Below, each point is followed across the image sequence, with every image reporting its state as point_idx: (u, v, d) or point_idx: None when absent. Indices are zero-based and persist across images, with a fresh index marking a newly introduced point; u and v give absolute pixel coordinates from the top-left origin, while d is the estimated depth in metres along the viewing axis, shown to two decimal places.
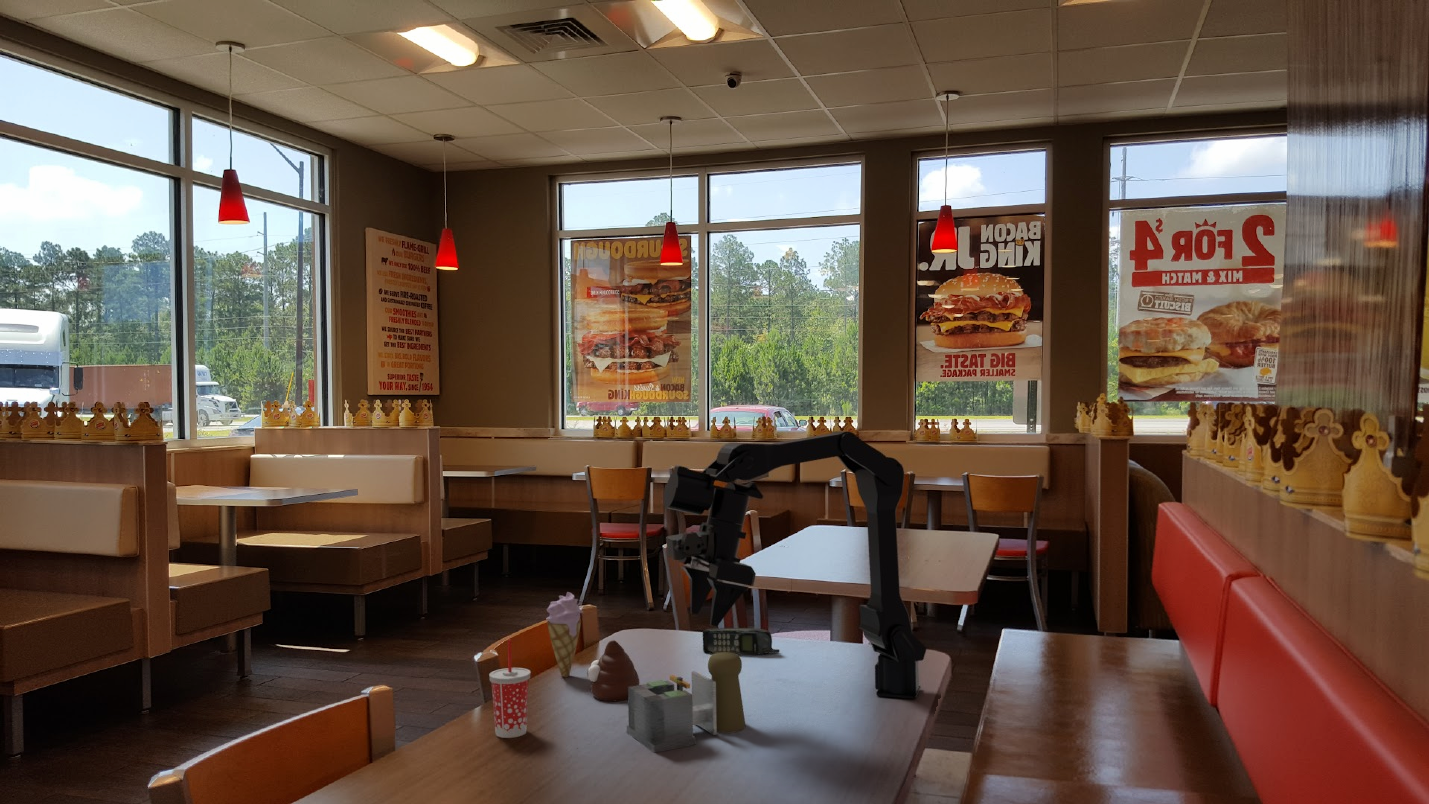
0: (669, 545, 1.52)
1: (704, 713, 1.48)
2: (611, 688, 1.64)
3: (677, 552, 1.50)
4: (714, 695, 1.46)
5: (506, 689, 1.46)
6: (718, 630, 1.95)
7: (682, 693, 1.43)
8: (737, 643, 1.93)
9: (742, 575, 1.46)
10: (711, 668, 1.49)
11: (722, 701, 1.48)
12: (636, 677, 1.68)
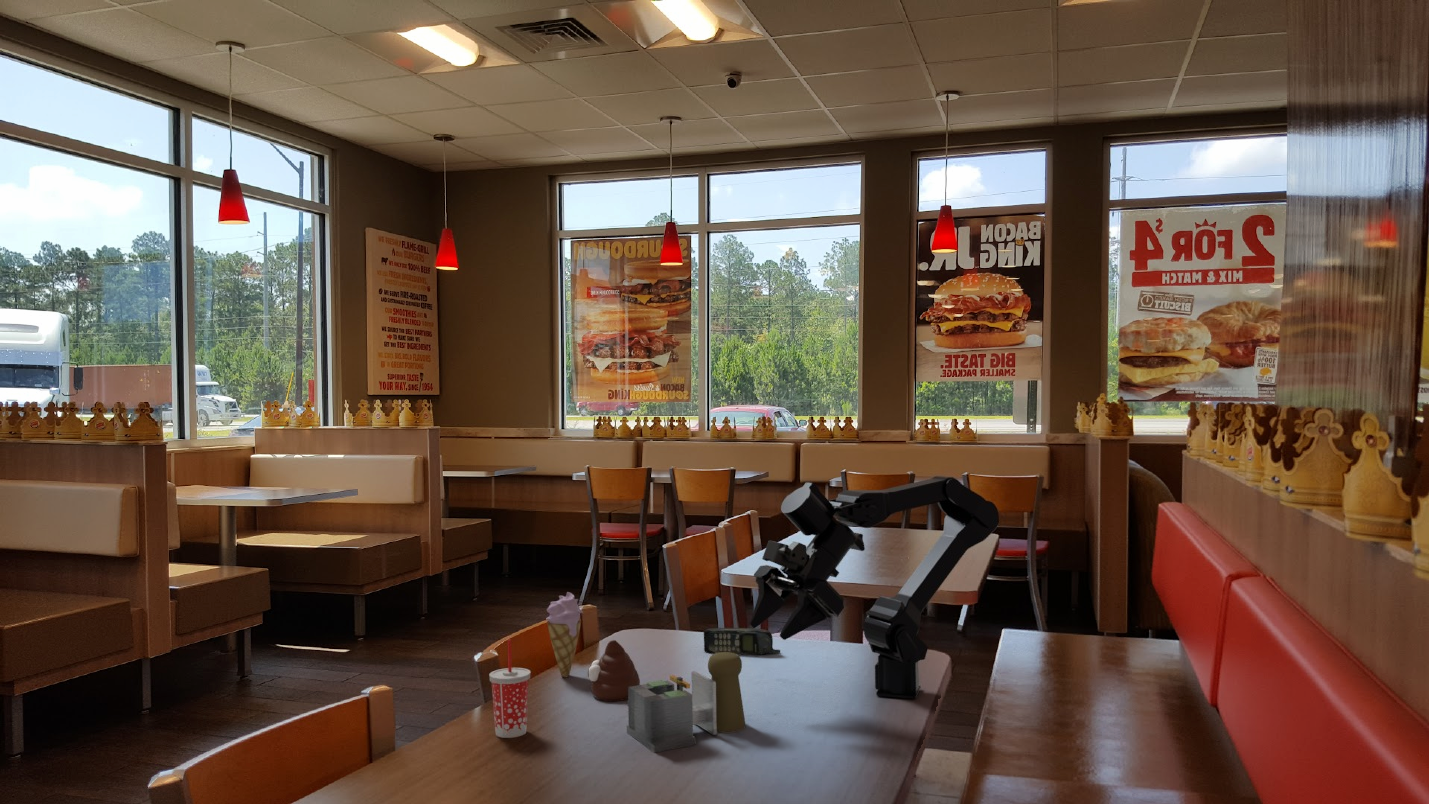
0: (771, 548, 1.55)
1: (704, 713, 1.48)
2: (611, 688, 1.64)
3: (779, 555, 1.53)
4: (714, 695, 1.46)
5: (506, 689, 1.46)
6: (719, 630, 1.95)
7: (682, 693, 1.43)
8: (738, 643, 1.94)
9: (835, 601, 1.49)
10: (711, 668, 1.49)
11: (722, 701, 1.48)
12: (636, 677, 1.68)
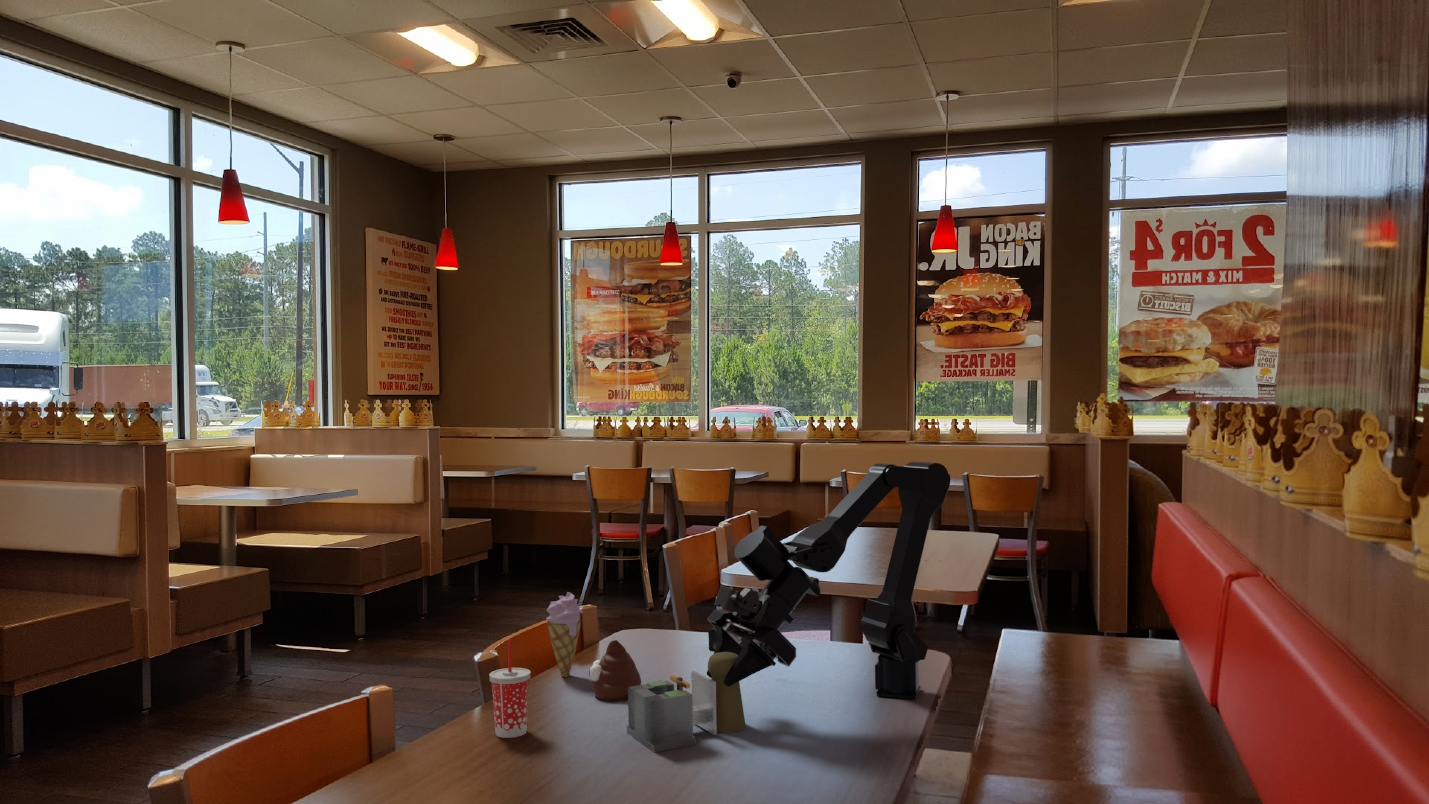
0: (723, 593, 1.51)
1: (704, 713, 1.48)
2: (612, 688, 1.64)
3: (731, 602, 1.48)
4: (714, 695, 1.46)
5: (506, 689, 1.46)
6: None
7: (682, 693, 1.43)
8: None
9: (786, 651, 1.45)
10: (711, 668, 1.49)
11: (722, 701, 1.48)
12: (638, 677, 1.68)
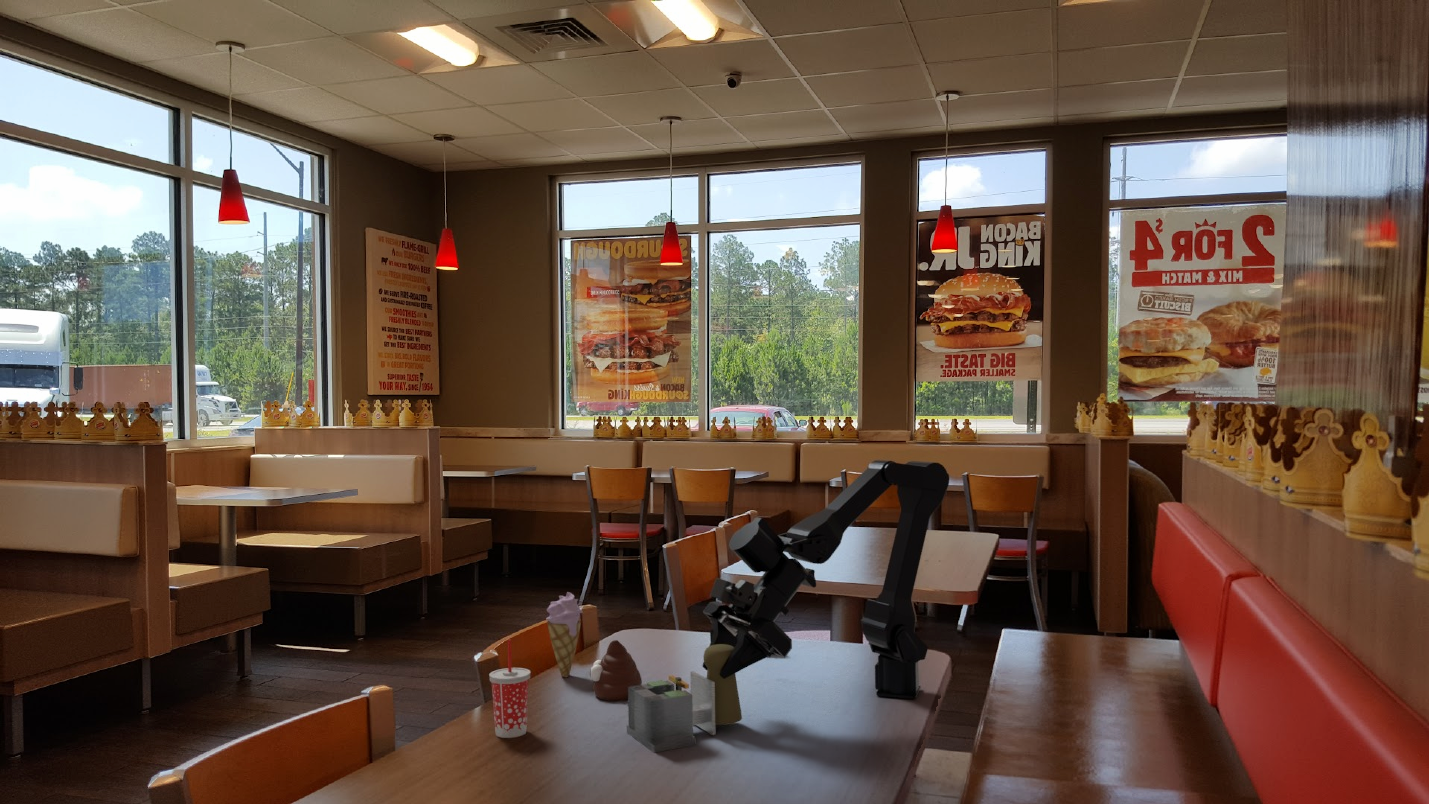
0: (718, 585, 1.50)
1: (703, 713, 1.48)
2: (613, 688, 1.64)
3: (726, 594, 1.48)
4: (713, 695, 1.46)
5: (506, 689, 1.46)
6: None
7: (682, 693, 1.43)
8: None
9: (782, 642, 1.44)
10: (707, 660, 1.49)
11: (718, 693, 1.48)
12: (638, 677, 1.68)
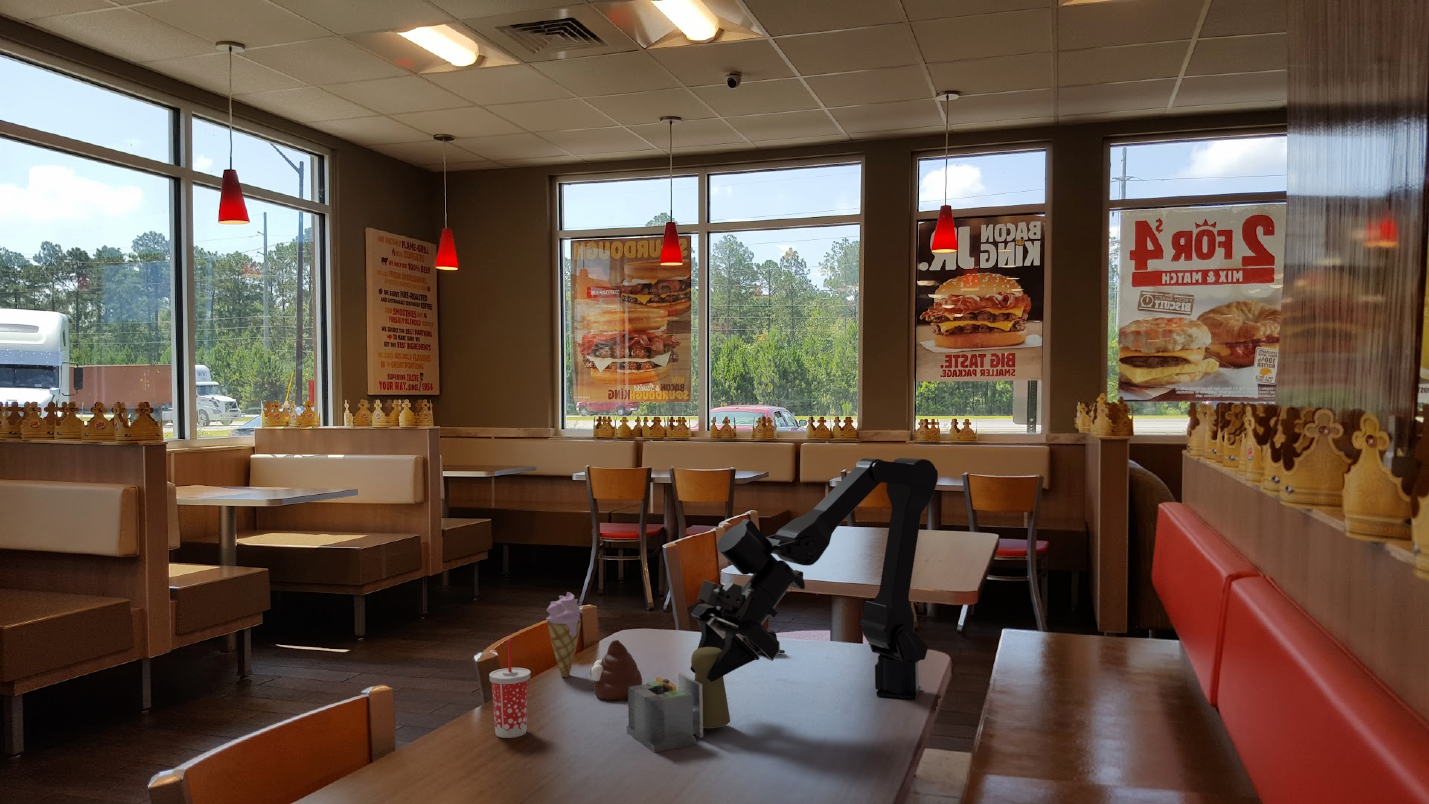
0: (706, 588, 1.49)
1: None
2: (614, 688, 1.64)
3: (713, 597, 1.47)
4: (701, 697, 1.45)
5: (506, 689, 1.46)
6: None
7: (682, 693, 1.43)
8: None
9: (769, 645, 1.43)
10: (694, 663, 1.48)
11: (706, 696, 1.47)
12: (639, 677, 1.68)
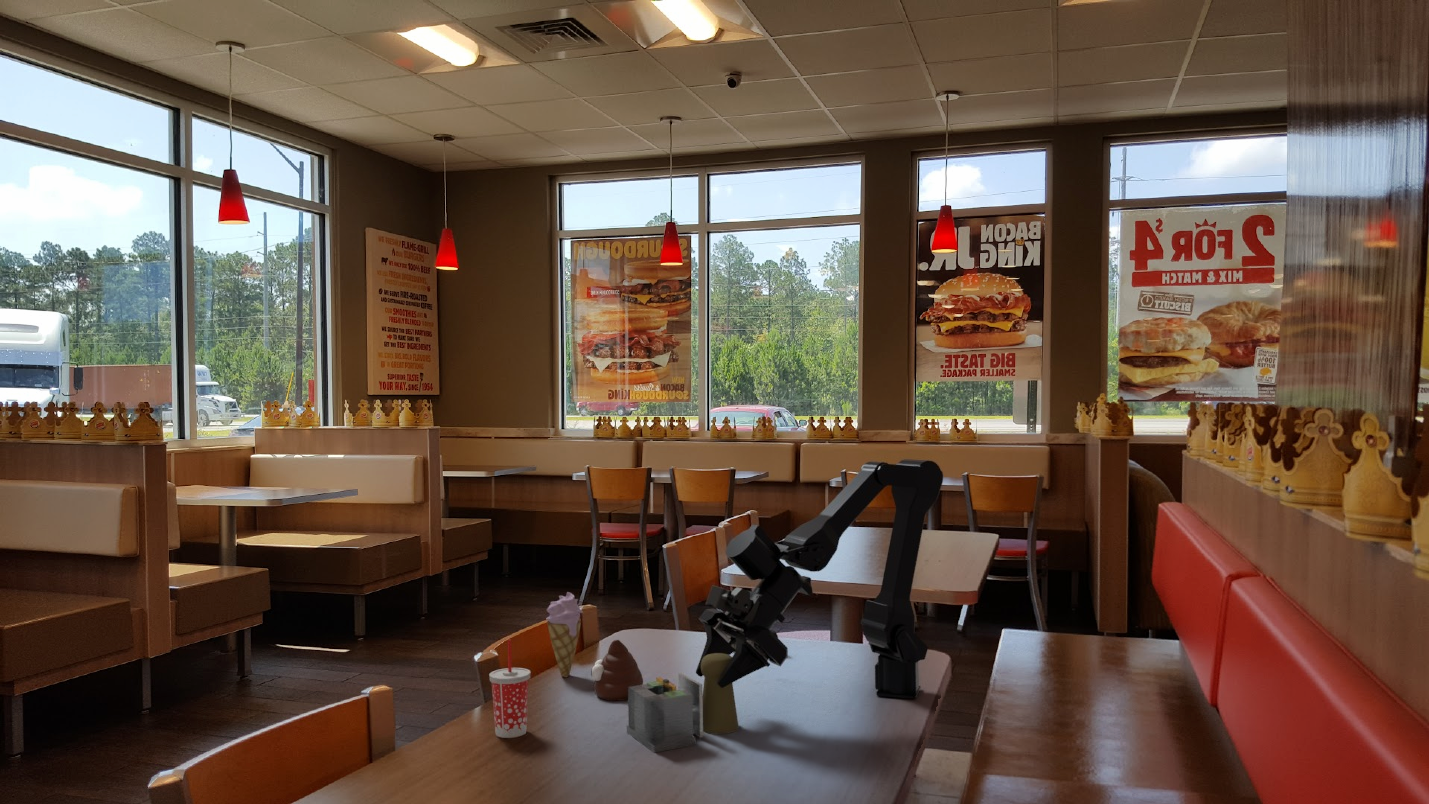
0: (714, 593, 1.50)
1: None
2: (614, 688, 1.64)
3: (722, 602, 1.48)
4: (701, 697, 1.45)
5: (506, 689, 1.46)
6: None
7: (682, 693, 1.43)
8: None
9: (777, 650, 1.44)
10: (704, 669, 1.48)
11: (715, 702, 1.47)
12: (640, 676, 1.68)
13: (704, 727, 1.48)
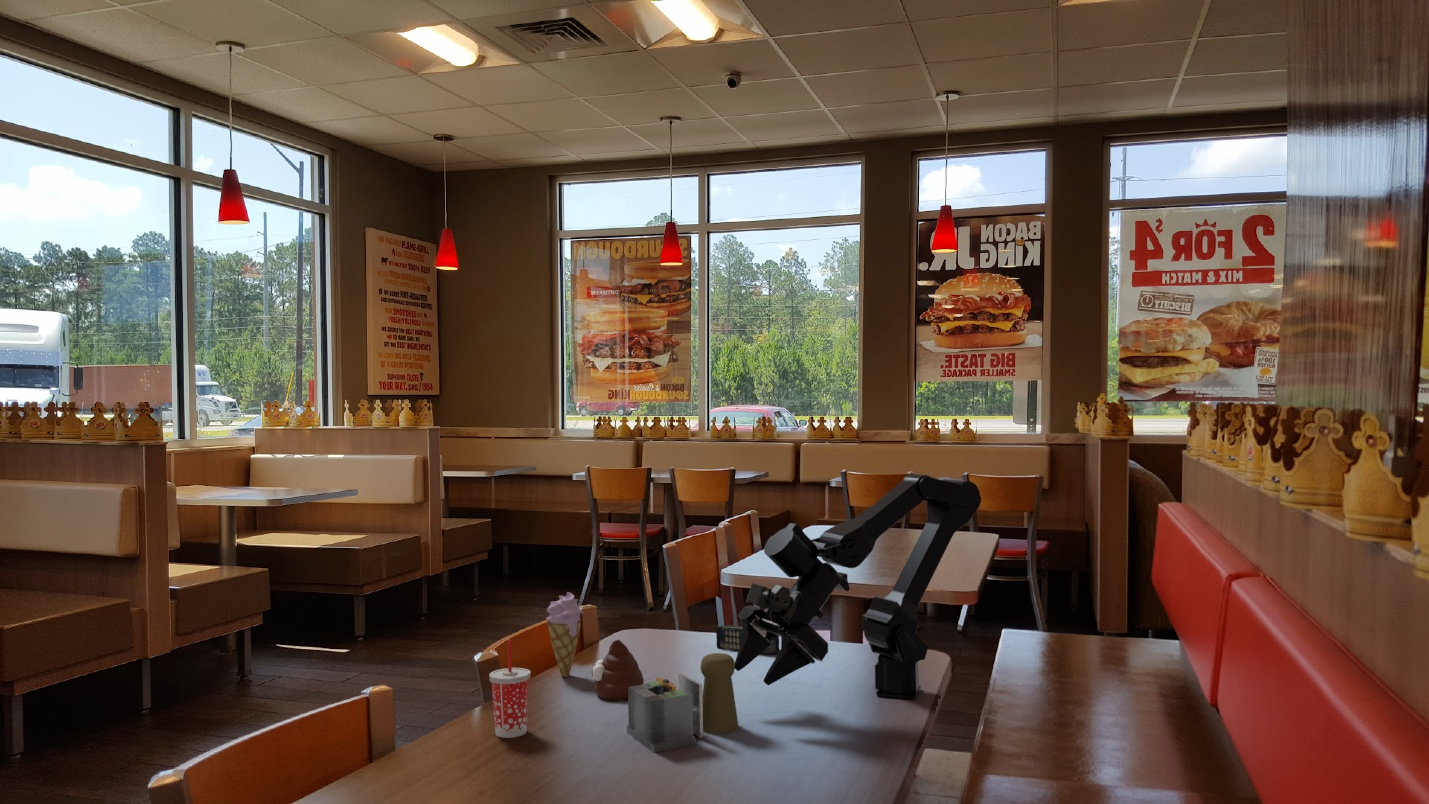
0: (754, 591, 1.53)
1: None
2: (615, 688, 1.64)
3: (763, 599, 1.51)
4: (701, 697, 1.45)
5: (506, 689, 1.46)
6: (729, 627, 1.97)
7: (682, 693, 1.43)
8: None
9: (818, 646, 1.47)
10: (704, 669, 1.48)
11: (715, 702, 1.47)
12: (640, 676, 1.68)
13: (704, 727, 1.48)
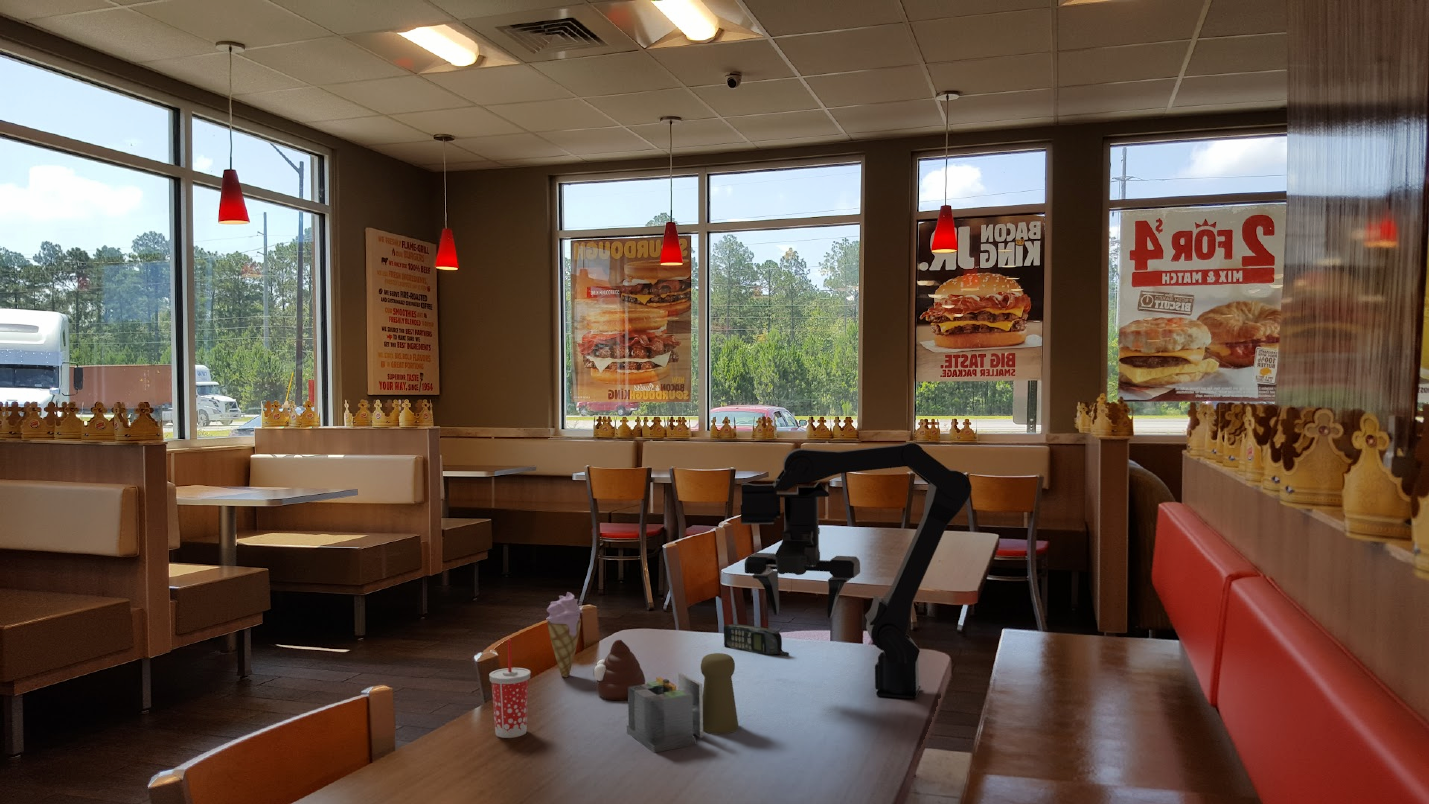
0: (787, 563, 1.59)
1: None
2: (617, 688, 1.64)
3: (803, 567, 1.59)
4: (701, 697, 1.45)
5: (506, 689, 1.46)
6: (736, 626, 1.98)
7: (682, 693, 1.43)
8: (750, 640, 1.95)
9: (857, 566, 1.64)
10: (704, 669, 1.48)
11: (715, 702, 1.47)
12: (642, 676, 1.68)
13: (704, 727, 1.48)
